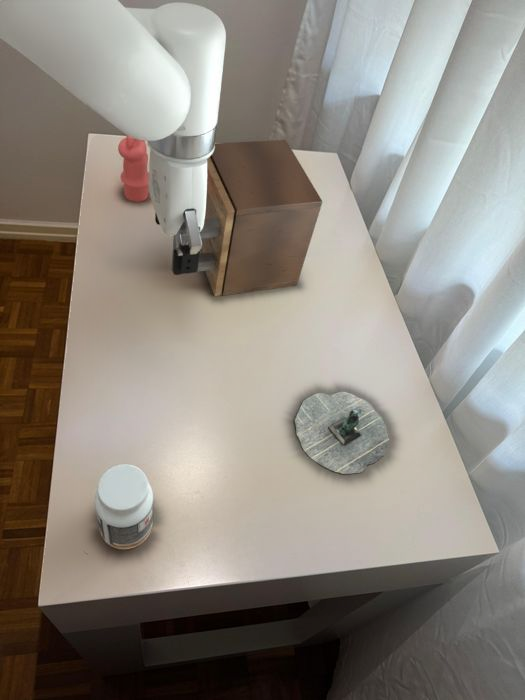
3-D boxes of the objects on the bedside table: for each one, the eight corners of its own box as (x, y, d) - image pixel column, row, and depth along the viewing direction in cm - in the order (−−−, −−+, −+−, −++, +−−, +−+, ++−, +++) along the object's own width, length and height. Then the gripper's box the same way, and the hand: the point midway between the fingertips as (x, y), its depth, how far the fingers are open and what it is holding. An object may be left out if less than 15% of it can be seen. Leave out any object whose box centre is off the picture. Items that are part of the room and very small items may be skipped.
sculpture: (395, 414, 77) (405, 423, 69) (365, 475, 77) (372, 490, 69) (314, 375, 78) (315, 379, 70) (285, 435, 78) (282, 446, 70)
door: (174, 302, 82) (180, 215, 70) (152, 235, 89) (154, 147, 77) (221, 295, 84) (234, 210, 72) (195, 231, 92) (204, 144, 79)
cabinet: (222, 295, 84) (236, 209, 72) (197, 232, 92) (206, 143, 79) (297, 285, 88) (322, 201, 76) (267, 224, 96) (285, 139, 83)
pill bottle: (162, 513, 63) (165, 474, 55) (134, 560, 60) (133, 526, 52) (117, 490, 64) (114, 448, 56) (87, 535, 60) (79, 498, 53)
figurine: (120, 182, 96) (117, 98, 84) (151, 185, 97) (153, 101, 85) (119, 202, 93) (116, 117, 81) (151, 204, 94) (152, 120, 82)
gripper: (131, 90, 67) (134, 207, 80) (167, 183, 58) (163, 298, 71) (194, 88, 69) (186, 202, 83) (237, 178, 60) (221, 289, 73)
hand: (175, 246), depth 77 cm, fingers open, 9 cm apart
